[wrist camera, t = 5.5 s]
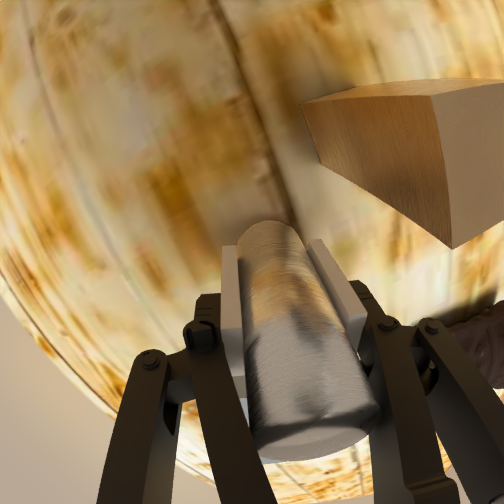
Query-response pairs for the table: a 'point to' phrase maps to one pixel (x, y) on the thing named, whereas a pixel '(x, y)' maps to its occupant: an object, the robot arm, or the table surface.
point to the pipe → (484, 342)
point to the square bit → (420, 149)
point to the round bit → (297, 353)
